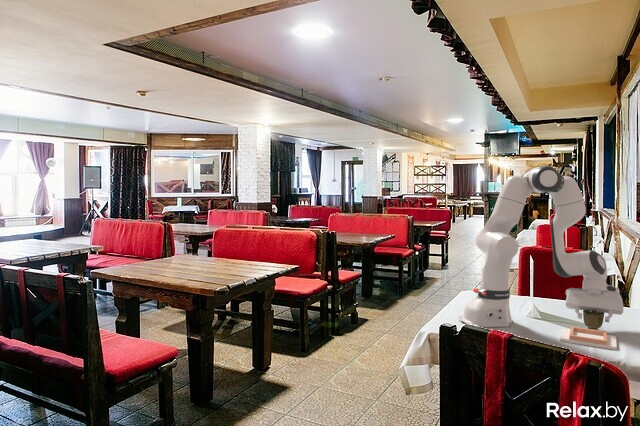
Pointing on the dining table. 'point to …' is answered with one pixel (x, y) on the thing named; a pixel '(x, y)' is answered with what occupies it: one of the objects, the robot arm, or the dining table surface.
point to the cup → (593, 319)
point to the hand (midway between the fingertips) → (593, 319)
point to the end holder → (589, 337)
